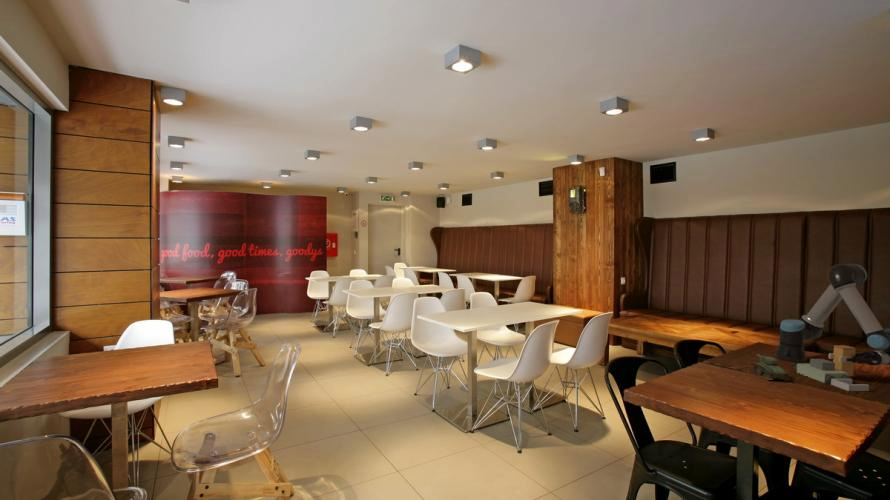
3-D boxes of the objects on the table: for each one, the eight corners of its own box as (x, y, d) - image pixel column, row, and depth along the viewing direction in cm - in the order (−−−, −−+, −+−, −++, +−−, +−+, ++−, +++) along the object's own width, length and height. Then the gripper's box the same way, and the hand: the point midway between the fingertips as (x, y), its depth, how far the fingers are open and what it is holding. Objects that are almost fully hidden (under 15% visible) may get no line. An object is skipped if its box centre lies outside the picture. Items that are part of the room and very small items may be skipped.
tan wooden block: (831, 372, 233) (834, 345, 232) (843, 372, 234) (846, 345, 233) (840, 375, 228) (843, 347, 227) (853, 376, 229) (855, 348, 228)
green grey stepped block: (793, 371, 239) (794, 355, 239) (815, 371, 240) (816, 355, 240) (846, 391, 210) (848, 372, 210) (871, 391, 211) (872, 372, 211)
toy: (766, 371, 239) (767, 353, 239) (789, 382, 221) (790, 363, 220) (747, 370, 240) (748, 352, 239) (768, 381, 222) (770, 362, 221)
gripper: (892, 370, 223) (851, 370, 221) (857, 359, 241) (818, 359, 239) (894, 356, 222) (852, 355, 221) (858, 346, 240) (819, 345, 239)
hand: (834, 357), depth 230 cm, fingers closed on tan wooden block, 5 cm apart
